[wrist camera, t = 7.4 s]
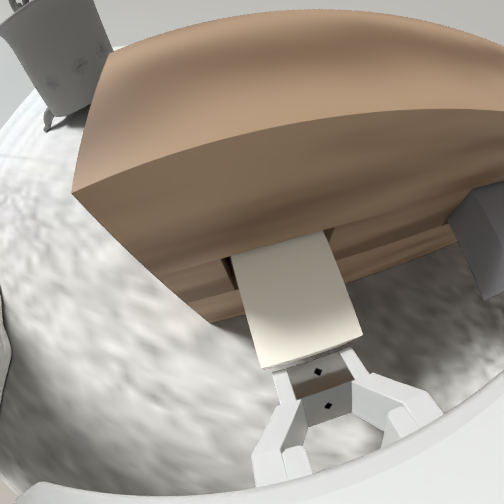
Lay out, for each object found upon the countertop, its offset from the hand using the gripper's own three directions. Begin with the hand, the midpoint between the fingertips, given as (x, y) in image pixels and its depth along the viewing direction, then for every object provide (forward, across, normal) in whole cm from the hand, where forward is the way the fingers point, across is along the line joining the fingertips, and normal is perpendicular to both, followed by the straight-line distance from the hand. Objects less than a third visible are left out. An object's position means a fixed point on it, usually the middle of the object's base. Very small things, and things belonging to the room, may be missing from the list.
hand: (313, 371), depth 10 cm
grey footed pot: (+33, +17, -22) cm, 43 cm away
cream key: (+3, 0, -1) cm, 4 cm away
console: (+11, -12, -1) cm, 16 cm away
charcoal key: (+3, -12, -1) cm, 12 cm away
